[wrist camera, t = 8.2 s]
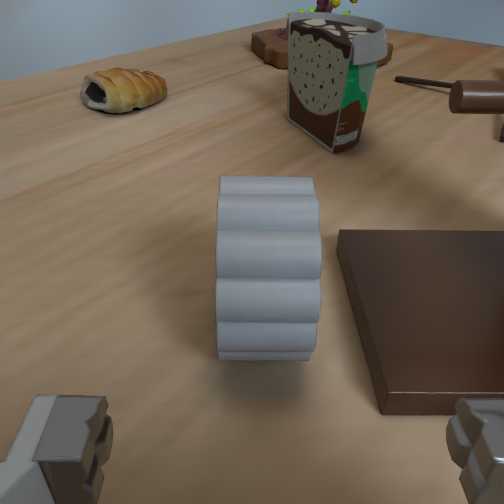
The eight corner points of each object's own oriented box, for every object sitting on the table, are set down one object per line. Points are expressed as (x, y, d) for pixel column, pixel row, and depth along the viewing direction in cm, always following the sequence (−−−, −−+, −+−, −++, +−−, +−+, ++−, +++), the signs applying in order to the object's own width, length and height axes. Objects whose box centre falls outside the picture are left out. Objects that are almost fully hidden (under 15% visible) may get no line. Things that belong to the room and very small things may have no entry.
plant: (335, 38, 85) (343, -36, 78) (410, 64, 70) (428, -24, 64) (231, 47, 77) (231, -34, 71) (292, 78, 63) (298, -20, 57)
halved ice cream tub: (399, 150, 44) (423, 32, 38) (341, 160, 42) (357, 36, 36) (331, 108, 53) (342, 8, 47) (281, 114, 51) (286, 11, 46)
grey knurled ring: (217, 397, 21) (213, 242, 16) (224, 281, 28) (222, 147, 23) (308, 397, 21) (330, 243, 16) (293, 281, 28) (305, 148, 23)
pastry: (144, 87, 58) (140, 54, 56) (182, 99, 55) (180, 65, 53) (77, 105, 52) (70, 69, 50) (115, 121, 49) (110, 82, 47)
